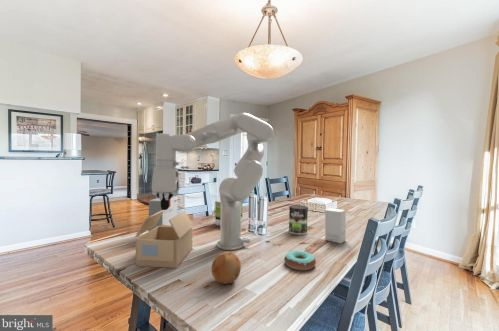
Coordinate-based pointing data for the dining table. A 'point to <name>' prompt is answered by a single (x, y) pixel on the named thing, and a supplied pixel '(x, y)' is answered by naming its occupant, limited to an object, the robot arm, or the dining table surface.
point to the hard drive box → (167, 214)
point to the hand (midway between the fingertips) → (165, 209)
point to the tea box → (218, 212)
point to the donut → (300, 260)
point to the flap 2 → (181, 224)
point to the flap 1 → (149, 223)
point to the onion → (226, 267)
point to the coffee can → (298, 219)
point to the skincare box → (335, 225)
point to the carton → (162, 247)
